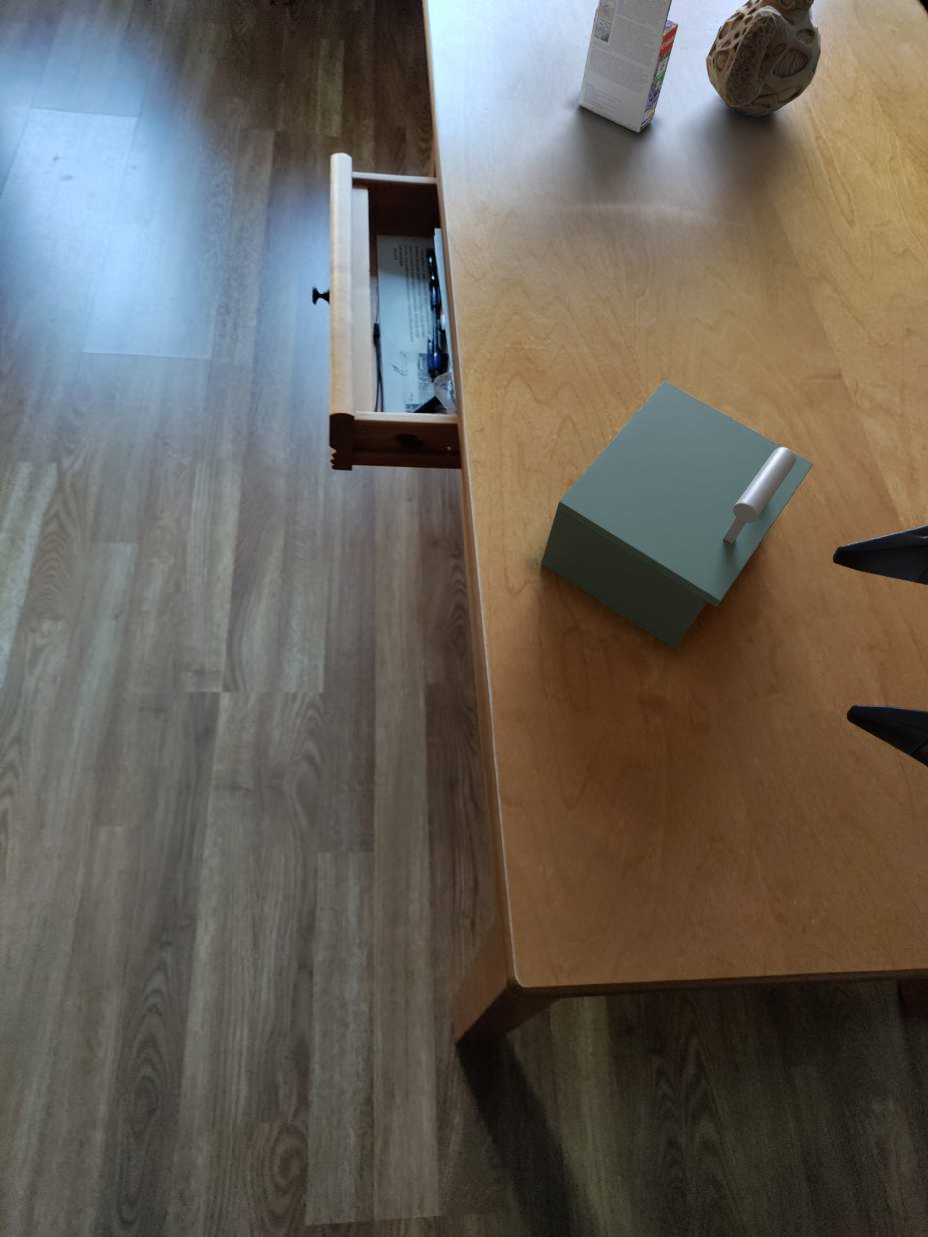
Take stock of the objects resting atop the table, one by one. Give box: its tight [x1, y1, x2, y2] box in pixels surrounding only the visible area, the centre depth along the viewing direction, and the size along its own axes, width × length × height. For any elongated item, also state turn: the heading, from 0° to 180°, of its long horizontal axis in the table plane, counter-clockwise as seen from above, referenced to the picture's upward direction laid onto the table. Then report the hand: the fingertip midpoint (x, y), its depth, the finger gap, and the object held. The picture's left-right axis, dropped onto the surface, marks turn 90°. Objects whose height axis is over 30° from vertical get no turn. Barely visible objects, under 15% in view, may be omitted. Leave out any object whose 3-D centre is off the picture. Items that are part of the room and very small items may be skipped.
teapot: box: [705, 0, 822, 118], centre depth 90 cm, size 21×12×15 cm, turn 154°
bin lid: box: [556, 380, 814, 608], centre depth 58 cm, size 12×15×5 cm
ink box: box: [577, 0, 679, 134], centre depth 88 cm, size 4×8×15 cm, turn 55°
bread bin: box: [540, 508, 708, 650], centre depth 63 cm, size 12×15×7 cm
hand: (842, 629), depth 43 cm, fingers open, 9 cm apart
